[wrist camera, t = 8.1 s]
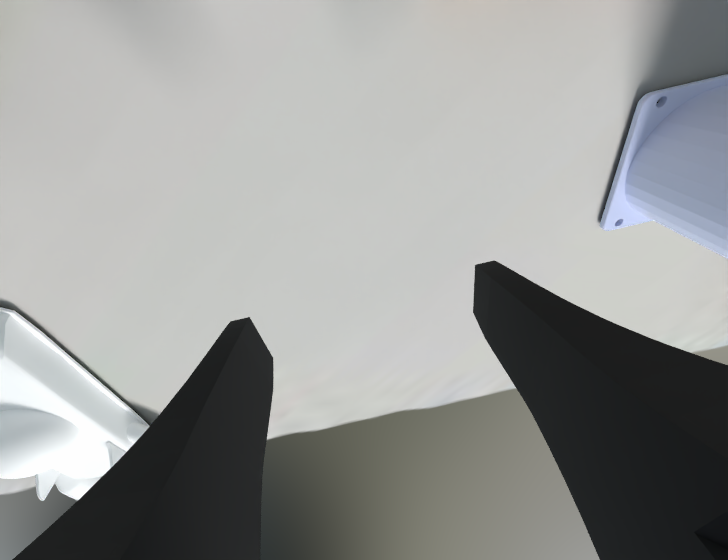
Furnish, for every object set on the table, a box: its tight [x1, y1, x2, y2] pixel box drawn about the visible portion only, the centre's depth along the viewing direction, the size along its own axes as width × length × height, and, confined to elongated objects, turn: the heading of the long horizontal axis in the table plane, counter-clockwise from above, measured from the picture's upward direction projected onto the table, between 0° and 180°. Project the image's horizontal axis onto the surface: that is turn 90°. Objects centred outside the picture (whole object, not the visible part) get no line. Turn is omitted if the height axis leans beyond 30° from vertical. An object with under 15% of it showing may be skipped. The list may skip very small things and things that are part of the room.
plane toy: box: [0, 307, 150, 501], centre depth 22 cm, size 10×20×6 cm, turn 12°
